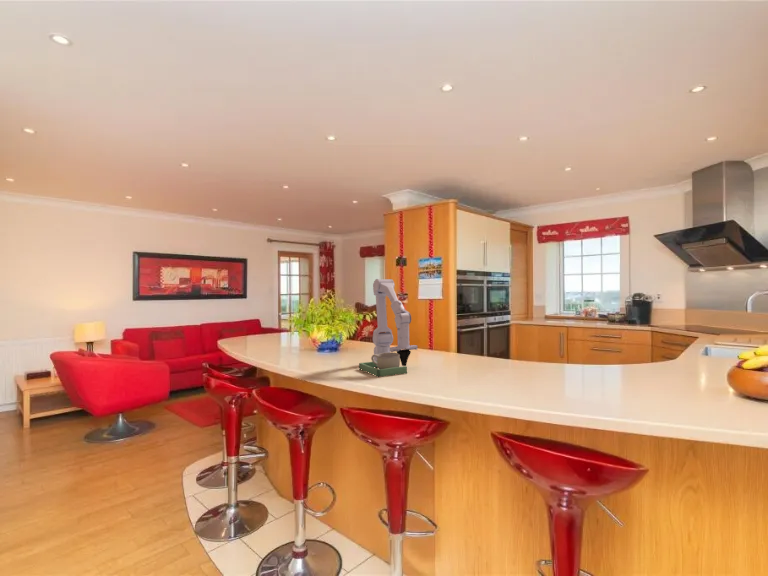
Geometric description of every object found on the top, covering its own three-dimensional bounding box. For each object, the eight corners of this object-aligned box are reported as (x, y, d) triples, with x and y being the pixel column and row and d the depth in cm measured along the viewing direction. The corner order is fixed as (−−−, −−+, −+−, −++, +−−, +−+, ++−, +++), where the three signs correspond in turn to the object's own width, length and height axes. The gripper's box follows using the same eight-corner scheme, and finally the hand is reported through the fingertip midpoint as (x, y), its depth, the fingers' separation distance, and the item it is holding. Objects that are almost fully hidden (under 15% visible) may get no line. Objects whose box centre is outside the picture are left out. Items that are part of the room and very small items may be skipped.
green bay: (359, 369, 185) (359, 363, 185) (386, 366, 191) (386, 360, 191) (377, 377, 167) (377, 370, 167) (407, 373, 173) (406, 366, 173)
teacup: (404, 370, 181) (404, 353, 181) (392, 374, 172) (392, 356, 172) (379, 367, 188) (379, 351, 188) (367, 371, 179) (366, 354, 179)
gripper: (394, 339, 178) (394, 368, 178) (420, 337, 184) (421, 365, 184) (387, 337, 184) (387, 366, 184) (413, 335, 191) (413, 363, 190)
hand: (404, 365), depth 184 cm, fingers closed
